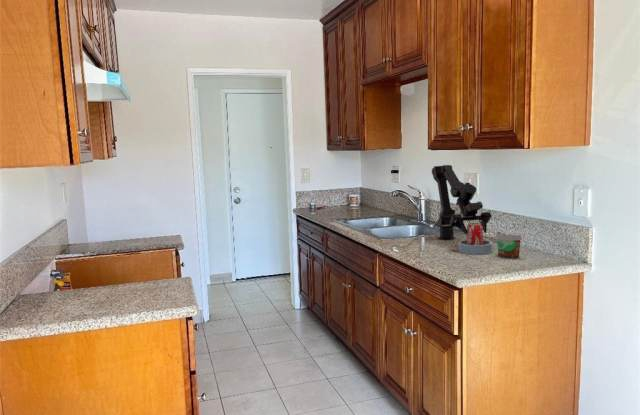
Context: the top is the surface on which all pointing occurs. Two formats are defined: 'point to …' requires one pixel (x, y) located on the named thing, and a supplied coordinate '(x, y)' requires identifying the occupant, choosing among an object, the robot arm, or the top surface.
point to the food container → (508, 245)
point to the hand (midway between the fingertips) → (476, 233)
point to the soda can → (474, 234)
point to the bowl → (475, 247)
